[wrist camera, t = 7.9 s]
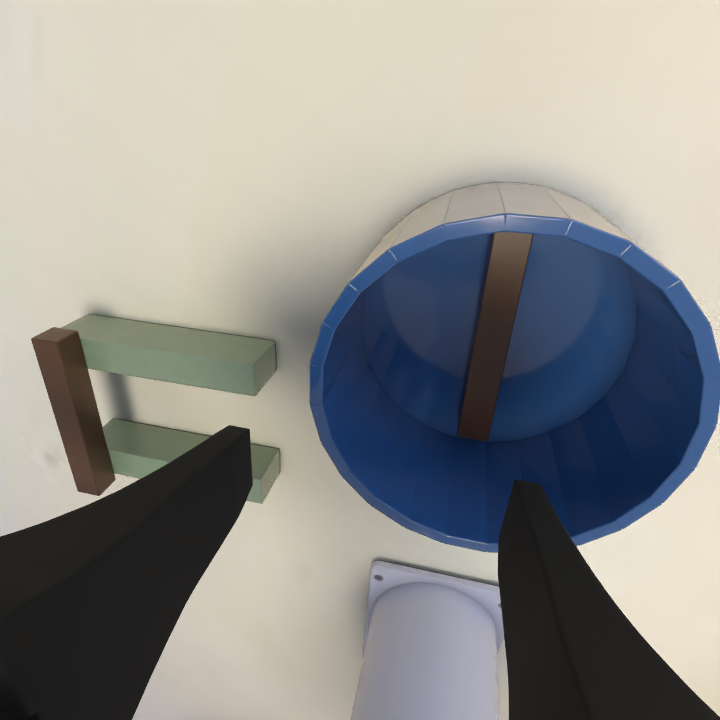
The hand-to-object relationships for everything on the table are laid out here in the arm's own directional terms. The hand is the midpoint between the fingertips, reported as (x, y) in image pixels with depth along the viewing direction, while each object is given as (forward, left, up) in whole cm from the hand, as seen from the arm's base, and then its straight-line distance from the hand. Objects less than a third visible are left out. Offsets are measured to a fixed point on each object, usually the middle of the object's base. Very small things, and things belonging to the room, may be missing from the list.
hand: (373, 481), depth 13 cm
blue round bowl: (+1, -3, -9) cm, 10 cm away
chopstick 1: (-5, +15, -7) cm, 18 cm away
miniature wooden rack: (-5, +11, -9) cm, 15 cm away
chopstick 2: (+1, -3, -9) cm, 9 cm away
